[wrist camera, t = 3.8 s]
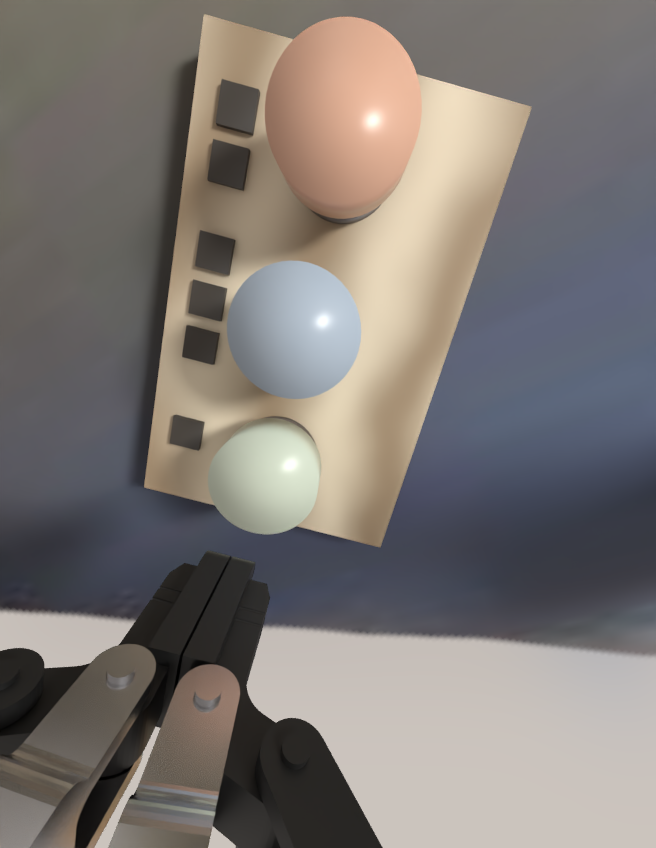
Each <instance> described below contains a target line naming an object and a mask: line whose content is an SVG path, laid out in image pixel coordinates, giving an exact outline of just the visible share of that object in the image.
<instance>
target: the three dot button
mask: <svg viewBox="0 0 656 848" xmlns="http://www.w3.org/2000/svg"><path fill="white" fill-rule="evenodd" d="M227 337H228V343H229V347H230V350H231V353H232V356H233V358H234V360H235V362H236V364H237V365H238V367H239V369H240V370H241V371H242V373H243V374H244V375H245V376H246V377H247V378H248V379H249V380H250V381H251V382H252V383H253V384H254V385H256V386H257V387H259V388H260V389H262V390H263V391H265V392H267V393H269V394H272V395H275V396H278V397H282V398H287V399H305V398H310V397H314V396H317V395H320V394H322V393H324V392H326V391H328V390H330V389H331V388H333V387H334V386H335V385H337V384H338V383H339V382H340V381H341V380H342V379H343V378H344V377H345V376H346V375H347V373H348V372H349V370H350V369H351V367H352V365H353V363H354V361H355V359H356V357H357V354H358V351H359V346H360V342H361V322H360V317H359V313H358V309H357V306H356V304H355V302H354V300H353V297H352V296H351V294H350V293H349V291H348V289H347V288H346V287H345V286H344V285H343V283H342V282H341V281H340V280H339V279H338V278H336V277H335V276H334V275H333V274H331V273H330V272H329V271H327V270H325V269H323V268H321V267H319V266H317V265H314V264H311V263H308V262H303V261H281V262H277V263H273V264H270V265H268V266H265V267H263V268H261V269H260V270H258V271H256V272H255V273H254V274H252V275H251V276H250V277H249V278H248V279H247V280H246V281H245V282H244V283H243V284H242V285H241V287H240V288H239V289H238V291H237V293H236V294H235V296H234V298H233V300H232V303H231V306H230V309H229V313H228V319H227Z"/></svg>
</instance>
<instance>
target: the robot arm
mask: <svg viewBox="0 0 656 848" xmlns="http://www.w3.org/2000/svg"><path fill="white" fill-rule="evenodd" d="M254 569H255V562H252V561H248V560H244V559H240V558H236V557H232V558H231V556H228V555H224V554H220V553H216V552H212V551H207V552H206V553H205V554H204V556H203V558H202V559H201V561H200V563H199V564H198V566H194V565H190V564H186V563H184V564H182V565H181V566H179V567H178V568H176V569H175V570H173V571H172V572H170V573H169V575H168V576H167V577H166V579H165V580H164V582H163V583H162V585H161V586H160V589H158V590H157V592H156V593H155V595H154V596H153V598H152V600H150V602H149V603H148V605H147V606H146V607H145V609H144V610H143V612H142V613H141V615H140V616H139V617H138V619H137V620H136V622H135V623H134V624H133V626H132V627H131V629H130V630H129V632H128V633H127V634H126V636H125V637H124V639H123V640H122V642H121V643H120V644H119V645H118V646H115V647H112V648H110V649H108V650H106V651H104V652H102V653H101V654H100V655H99V656H97V657H96V658H95V659H94V660H93V661H92V662H91V663H90V664H86V665H82V666H75V667H60V668H44V661H43V659H42V657H41V656H40V655H39V654H38V653H37V652H35V651H33V650H30V649H24V648H14V649H7V650H3V651H0V848H94V847H95V845H96V843H97V841H98V840H99V838H100V836H101V834H102V832H103V830H104V828H105V827H106V825H107V823H108V821H109V819H110V818H111V816H112V814H113V812H114V810H115V809H116V807H117V805H118V803H119V801H120V799H121V797H122V796H123V794H124V792H125V790H126V788H127V787H128V785H129V783H130V781H131V779H132V777H133V776H134V774H135V772H136V770H137V768H138V766H139V764H140V762H141V759H142V755H143V751H144V749H145V747H146V745H147V743H148V741H149V739H150V737H151V735H152V733H153V730H154V728H155V726H156V727H160V728H161V729H160V731H159V734H158V736H157V739H156V741H155V744H154V747H153V750H152V752H151V754H150V757H149V760H148V762H147V765H146V767H145V770H144V772H143V775H142V778H141V780H140V783H139V785H138V788H137V790H136V792H135V793H134V795H131V797H130V798H129V800H128V802H127V804H126V806H125V808H124V810H123V812H122V815H121V817H120V820H119V822H118V825H117V827H116V830H115V832H114V835H113V837H112V840H111V842H110V845H109V847H108V848H208V845H209V839H210V836H211V831H212V826H213V827H215V828H216V829H217V830H218V831H219V832H221V833H222V834H223V835H224V836H225V837H227V838H228V839H229V840H230V841H231V842H233V843H234V844H235V845H236V848H382V846H381V844H380V842H379V841H378V839H377V837H376V835H375V833H374V831H373V830H372V828H371V826H370V824H369V822H368V820H367V819H366V817H365V815H364V813H363V811H362V809H361V807H360V806H359V804H358V802H357V800H356V798H355V797H354V795H353V793H352V791H351V789H350V787H349V785H348V784H347V782H346V780H345V778H344V776H343V774H342V773H341V771H340V769H339V767H338V765H337V763H336V762H335V760H334V758H333V756H332V755H331V752H330V751H329V749H328V747H327V745H326V743H325V742H324V740H323V738H322V736H321V735H320V733H319V732H318V731H317V730H316V729H315V728H314V727H313V726H312V725H311V724H309V723H307V722H306V721H303V720H301V719H296V718H287V719H283V720H281V721H278V722H277V723H275V722H274V721H272V720H271V719H269V718H268V717H266V716H265V715H263V714H262V713H261V712H260V711H258V709H256V707H255V706H254V705H253V703H252V702H251V700H250V698H249V696H248V692H247V686H246V685H247V681H248V677H249V674H250V670H251V667H252V663H253V660H254V657H255V653H256V650H257V646H258V643H259V639H260V636H261V632H262V628H263V624H264V620H265V616H266V612H267V608H268V604H269V600H270V596H269V592H268V587H267V584H265V583H261V582H257V581H253V580H252V577H253V573H254Z"/></svg>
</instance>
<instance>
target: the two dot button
mask: <svg viewBox="0 0 656 848" xmlns="http://www.w3.org/2000/svg"><path fill="white" fill-rule="evenodd" d="M421 114H422V99H421V91H420V85H419V81H418V77H417V74H416V71H415V68H414V66H413V63H412V61H411V60H410V58H409V56H408V54H407V52H406V51H405V50H404V48H403V47H402V45H401V44H400V43H399V42H398V41H397V40H396V39H395V37H394V36H393V35H391V34H390V33H389V32H388V31H386V30H385V29H384V28H382V27H380V26H379V25H377V24H375V23H373V22H370V21H367V20H365V19H361V18H356V17H336V18H330V19H327V20H324V21H321V22H318V23H316V24H314V25H312V26H310V27H309V28H307V29H306V30H304V31H303V32H301V33H300V34H299V35H298V36H297V37H296V38H295V39H294V40H293V41H292V42H291V43H290V44H289V45H288V46H287V48H286V49H285V50H284V52H283V53H282V55H281V56H280V58H279V59H278V61H277V63H276V65H275V67H274V70H273V72H272V75H271V78H270V80H269V84H268V88H267V93H266V100H265V126H266V133H267V137H268V142H269V145H270V148H271V151H272V153H273V155H274V158H275V160H276V162H277V164H278V166H279V168H280V170H281V172H282V174H283V176H284V178H285V180H286V182H287V184H288V186H289V187H290V189H291V190H292V192H293V193H294V195H295V196H296V197H297V198H298V199H299V200H300V201H301V202H302V203H303V204H304V205H305V206H307V207H308V208H309V209H311V210H312V211H314V212H316V213H318V214H320V215H323V216H326V217H330V218H336V219H347V218H354V217H358V216H361V215H364V214H366V213H369V212H370V211H372V210H374V209H376V208H377V207H378V206H379V205H381V204H382V203H383V202H384V201H385V200H386V199H387V198H388V197H389V196H390V195H391V194H392V192H393V191H394V190H395V188H396V187H397V185H398V184H399V182H400V180H401V178H402V176H403V174H404V171H405V169H406V166H407V164H408V161H409V159H410V156H411V154H412V151H413V149H414V146H415V143H416V140H417V137H418V133H419V129H420V124H421Z"/></svg>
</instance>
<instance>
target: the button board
mask: <svg viewBox="0 0 656 848" xmlns="http://www.w3.org/2000/svg"><path fill="white" fill-rule="evenodd" d="M293 40H294V39H290V38H287V37H283V36H279V35H276V34H272V33H269V32H265V31H262V30H258V29H255V28H251V27H248V26H244V25H241V24H237V23H233V22H230V21H226V20H223V19H219V18H216V17H212V16H209V15H205V14H204V18H203V26H202V34H201V42H200V50H199V57H198V65H197V73H196V81H195V89H194V97H193V105H192V113H191V121H190V128H189V136H188V144H187V152H186V160H185V168H184V176H183V184H182V191H181V199H180V207H179V215H178V223H177V231H176V239H175V247H174V255H173V262H172V270H171V278H170V286H169V294H168V302H167V310H166V318H165V325H164V333H163V341H162V349H161V357H160V365H159V373H158V381H157V389H156V396H155V404H154V412H153V420H152V428H151V436H150V444H149V452H148V459H147V467H146V475H145V483H144V487H145V488H148V489H152V490H156V491H160V492H164V493H168V494H172V495H176V496H180V497H184V498H188V499H192V500H196V501H200V502H203V503H207V504H211V505H214V503H213V500H212V498H211V495H210V492H209V487H208V472H209V468H210V465H211V462H212V460H213V458H214V456H215V455H216V453H217V452H218V451H219V450H220V448H221V447H222V446H223V445H224V444H225V443H226V442H227V441H228V440H229V439H230V438H231V436H232V435H233V434H234V433H235V432H236V431H237V430H238V429H239V428H241V427H242V426H244V425H245V424H247V423H249V422H251V421H254V420H257V419H263V418H277V419H282V420H286V421H289V422H291V423H293V424H295V425H297V426H298V427H300V428H302V429H303V430H304V431H305V432H306V433H307V434H308V435H309V436H310V437H311V438H312V440H313V441H314V443H315V444H316V446H317V448H318V451H319V453H320V458H321V475H320V481H319V487H318V493H317V498H316V501H315V504H314V507H313V508H312V510H311V512H310V513H309V515H308V516H307V517H306V518H305V519H304V520H303V521H302V522H301V523H300V524H298V525H297V526H298V527H302V528H306V529H310V530H313V531H317V532H321V533H325V534H329V535H333V536H337V537H341V538H345V539H349V540H353V541H357V542H361V543H365V544H369V545H372V546H376V547H381V544H382V541H383V538H384V535H385V532H386V529H387V526H388V524H389V521H390V518H391V515H392V512H393V509H394V506H395V503H396V500H397V497H398V495H399V492H400V489H401V486H402V483H403V480H404V477H405V474H406V471H407V468H408V465H409V463H410V460H411V457H412V454H413V451H414V448H415V445H416V442H417V439H418V436H419V433H420V431H421V428H422V425H423V422H424V419H425V416H426V413H427V410H428V407H429V404H430V402H431V399H432V396H433V393H434V390H435V387H436V384H437V381H438V378H439V375H440V372H441V370H442V367H443V364H444V361H445V358H446V355H447V352H448V349H449V346H450V343H451V340H452V338H453V335H454V332H455V329H456V326H457V323H458V320H459V317H460V314H461V311H462V309H463V306H464V303H465V300H466V297H467V294H468V291H469V288H470V285H471V282H472V279H473V277H474V274H475V271H476V268H477V265H478V262H479V259H480V256H481V253H482V250H483V247H484V245H485V242H486V239H487V236H488V233H489V230H490V227H491V224H492V221H493V218H494V216H495V213H496V210H497V207H498V204H499V201H500V198H501V195H502V192H503V189H504V186H505V184H506V181H507V178H508V175H509V172H510V169H511V166H512V163H513V160H514V157H515V154H516V152H517V149H518V146H519V143H520V140H521V137H522V134H523V131H524V128H525V125H526V123H527V120H528V117H529V114H530V111H531V108H532V107H530V106H527V105H523V104H520V103H516V102H513V101H509V100H506V99H502V98H499V97H495V96H491V95H488V94H484V93H481V92H477V91H474V90H470V89H467V88H463V87H460V86H456V85H453V84H449V83H446V82H442V81H438V80H435V79H431V78H428V77H424V76H421V75H417V77H418V81H419V85H420V91H421V99H422V114H421V124H420V129H419V133H418V137H417V140H416V143H415V146H414V149H413V151H412V154H411V156H410V159H409V161H408V164H407V166H406V169H405V171H404V174H403V176H402V178H401V180H400V182H399V184H398V185H397V187H396V188H395V190H394V191H393V192H392V194H391V195H390V196H389V197H388V198H387V199H386V200H385V201H384V202H383V203H382V204H381V205H379V206H378V207H377V208H376V209H374V210H372V211H370V212H369V213H366V214H364V215H361V216H358V217H354V218H347V219H336V218H330V217H326V216H323V215H320V214H318V213H316V212H314V211H312V210H311V209H309V208H308V207H307V206H305V205H304V204H303V203H302V202H301V201H300V200H299V199H298V198H297V197H296V196H295V195H294V193H293V192H292V190H291V189H290V187H289V186H288V184H287V182H286V180H285V178H284V176H283V174H282V172H281V170H280V168H279V166H278V164H277V162H276V160H275V158H274V155H273V153H272V151H271V148H270V145H269V142H268V137H267V133H266V126H265V100H266V93H267V88H268V84H269V80H270V78H271V75H272V72H273V70H274V67H275V65H276V63H277V61H278V59H279V58H280V56H281V55H282V53H283V52H284V50H285V49H286V48H287V46H288V45H289V44H290V43H291V42H292V41H293ZM281 261H303V262H308V263H311V264H314V265H317V266H319V267H321V268H323V269H325V270H327V271H329V272H330V273H331V274H333V275H334V276H335V277H336V278H338V279H339V280H340V281H341V282H342V283H343V285H344V286H345V287H346V288H347V289H348V291H349V293H350V294H351V296H352V297H353V300H354V302H355V304H356V306H357V309H358V313H359V317H360V322H361V342H360V346H359V351H358V354H357V357H356V359H355V361H354V363H353V365H352V367H351V369H350V370H349V372H348V373H347V375H346V376H345V377H344V378H343V379H342V380H341V381H340V382H339V383H338V384H337V385H335V386H334V387H333V388H331V389H330V390H328V391H326V392H324V393H322V394H320V395H317V396H314V397H310V398H305V399H287V398H282V397H278V396H275V395H272V394H269V393H267V392H265V391H263V390H262V389H260V388H259V387H257V386H256V385H254V384H253V383H252V382H251V381H250V380H249V379H248V378H247V377H246V376H245V375H244V374H243V373H242V371H241V370H240V369H239V367H238V365H237V364H236V362H235V360H234V358H233V356H232V353H231V350H230V347H229V343H228V337H227V319H228V313H229V309H230V306H231V303H232V300H233V298H234V296H235V294H236V293H237V291H238V289H239V288H240V287H241V285H242V284H243V283H244V282H245V281H246V280H247V279H248V278H249V277H250V276H251V275H252V274H254V273H255V272H256V271H258V270H260V269H261V268H263V267H265V266H268V265H270V264H273V263H277V262H281Z"/></svg>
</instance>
